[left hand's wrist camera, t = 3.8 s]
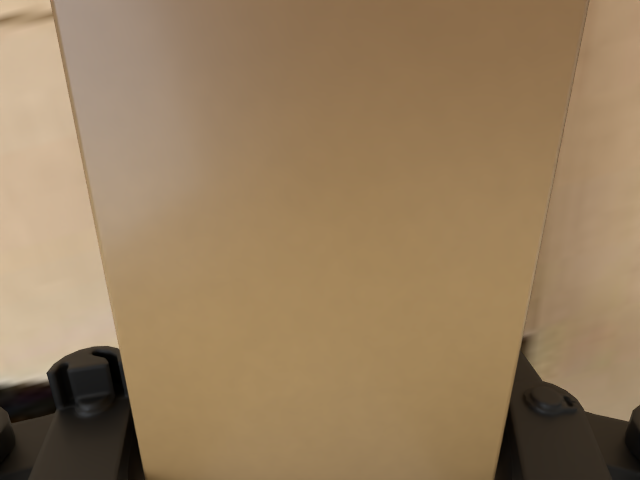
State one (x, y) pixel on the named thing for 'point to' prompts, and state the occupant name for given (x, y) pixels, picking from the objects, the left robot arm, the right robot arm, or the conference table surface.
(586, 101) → the conference table surface
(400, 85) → the bar
